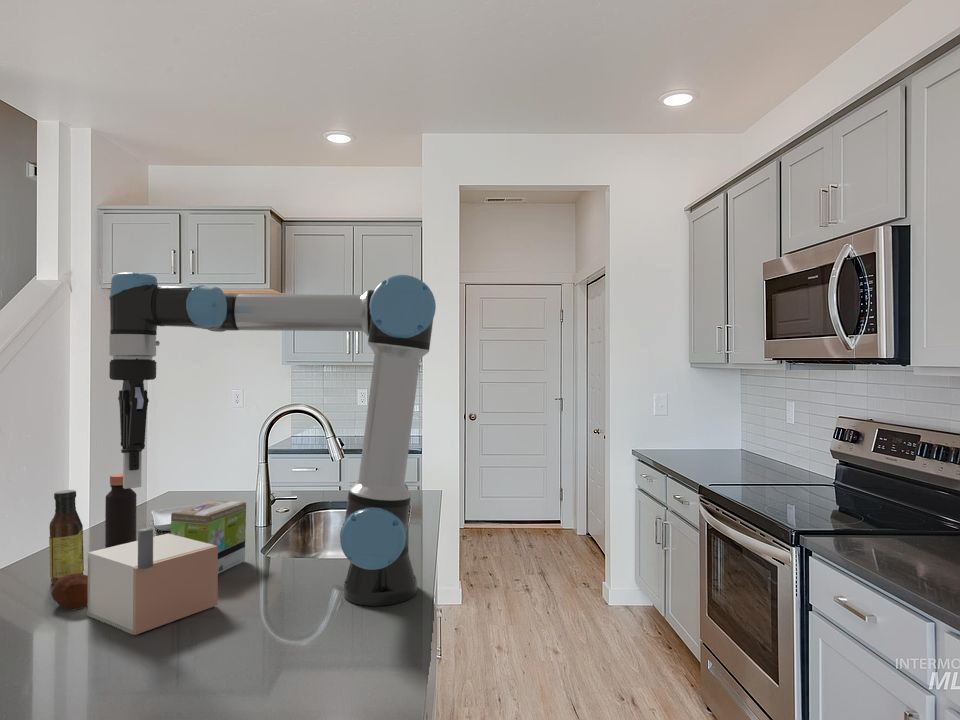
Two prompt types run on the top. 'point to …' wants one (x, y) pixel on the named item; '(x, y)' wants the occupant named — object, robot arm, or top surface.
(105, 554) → the case
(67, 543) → the sauce bottle
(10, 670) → the top surface
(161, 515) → the salad plate
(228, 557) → the tea box
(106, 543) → the vinegar
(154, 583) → the side door
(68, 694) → the top surface
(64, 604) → the potato
